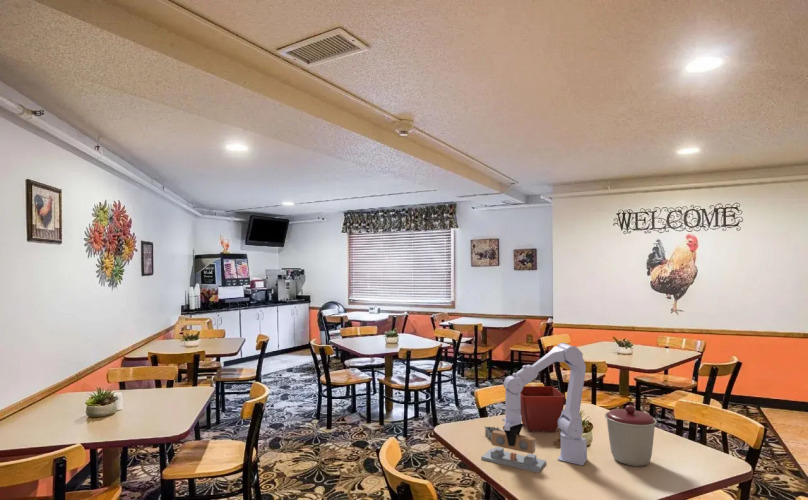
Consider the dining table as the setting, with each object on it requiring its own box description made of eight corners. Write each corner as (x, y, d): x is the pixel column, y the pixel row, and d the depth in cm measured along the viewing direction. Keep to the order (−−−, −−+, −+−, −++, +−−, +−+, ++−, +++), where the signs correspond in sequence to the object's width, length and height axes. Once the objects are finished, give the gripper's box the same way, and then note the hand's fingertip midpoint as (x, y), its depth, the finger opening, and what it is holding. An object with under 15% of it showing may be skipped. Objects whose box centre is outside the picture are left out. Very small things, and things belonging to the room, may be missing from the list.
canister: (664, 461, 179) (663, 405, 180) (647, 475, 167) (646, 415, 168) (616, 448, 193) (616, 396, 194) (597, 460, 180) (596, 405, 181)
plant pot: (513, 420, 227) (513, 385, 228) (552, 420, 227) (552, 385, 228) (523, 434, 208) (523, 396, 209) (566, 434, 208) (565, 396, 209)
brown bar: (535, 451, 176) (535, 437, 176) (532, 454, 173) (532, 440, 174) (494, 442, 185) (494, 429, 185) (491, 445, 182) (491, 432, 182)
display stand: (545, 463, 177) (545, 455, 178) (538, 472, 169) (538, 464, 169) (491, 450, 189) (491, 443, 189) (481, 459, 181) (481, 451, 181)
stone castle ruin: (507, 442, 200) (507, 432, 200) (490, 442, 199) (490, 433, 199) (499, 433, 210) (499, 424, 211) (483, 433, 210) (483, 424, 210)
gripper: (509, 402, 188) (509, 436, 188) (496, 411, 176) (496, 448, 175) (526, 405, 184) (526, 440, 184) (514, 414, 172) (514, 452, 172)
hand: (513, 444), depth 179 cm, fingers closed on brown bar, 3 cm apart
